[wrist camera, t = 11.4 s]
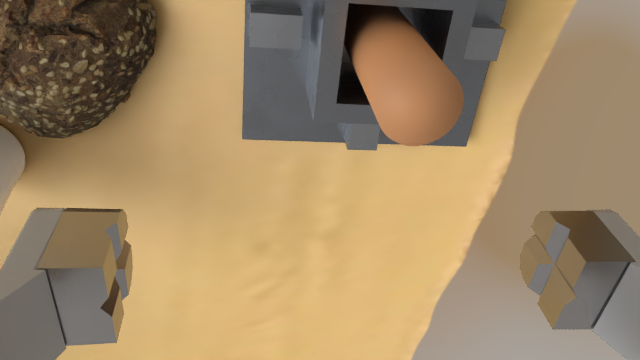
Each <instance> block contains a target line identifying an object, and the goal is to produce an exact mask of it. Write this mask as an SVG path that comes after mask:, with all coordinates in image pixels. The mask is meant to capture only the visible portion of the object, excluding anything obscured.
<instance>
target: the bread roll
mask: <svg viewBox="0 0 640 360" xmlns="http://www.w3.org/2000/svg"><path fill="white" fill-rule="evenodd" d="M156 23H157V16H156V11H155V10H154V9H153V7H152V6H151V5H150V4H149V2H148V1H147V0H0V114H3V115H5V116H7V121H8V122H11V123H17V124H19V125H21V126H23V127H25V130H26V131H28V132H29V133H32V132H34V133H35V134H36V135H37V136H42V137H51V138H65V137H69V136H72V135H74V134H77V133H82V132H83V131H85V130H87V129H90V128H92V127H94V126H97V125H98V124H99V123H100V122H101V121H102V120H103V119H105V118H107V117H108V116H109V114H110V113H112V112H114V111H115V108H116V106H117V105H118V104H119V103H120V102H124V103H125V102H126V101H127V100H128V98H129V97H130V91H131V88H132V85H133V84H134V83H135V82H136V81H137V77H139V76H140V75H141V71H143V70H144V68H145V66H146V65H147V62H148V60H149V59H150V58H151V57H152V55H153V53H154V45H155V41H156Z"/></svg>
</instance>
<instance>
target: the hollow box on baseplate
mask: <svg viewBox="0 0 640 360" xmlns="http://www.w3.org/2000/svg"><path fill="white" fill-rule="evenodd" d="M357 4H369V5H383V6H397V7H398V9H399V10H400V11H401V12H402V13H403V15H404V16H405V17H406V18H407V19H408V21H409V22H410V23H411V24H412V25H413V27H414V28H415V29H416V30H417V31H418V33H419V34H420V35H421V36H422V37H423V39H424V40H425V41H426V42H427V43H428V45H429V46H430V47H431V48H432V49H433V51H434V52H435V53H436V54H437V55H438V57H439V58H440V59H441V60H442V61H443V63H444V64H445V65H446V66H447V67H448V69H449V70H450V71H451V72H452V74H453V75H454V76H455V77H456V78H457V80H458V81H459V83H460V85H461V87H462V90H463V97H464V102H463V108H462V112H461V115H460V117H459V119H458V121H457V122H456V124H455V125H454V126H453V127H452V129H451V130H450V131H449V132H448V133H446V134H445V135H444V136H443V137H441V138H439V139H438V140H436V141H434V142H431V143H428V144H425V145H435V146H466V145H467V141H468V138H469V134H470V130H471V127H472V123H473V120H474V116H475V112H476V109H477V105H478V101H479V98H480V94H481V91H482V87H483V83H484V80H485V76H486V73H487V69H488V65H489V62H490V61H497V57H498V54H499V50H500V47H501V43H502V40H503V36H504V32H505V29H504V28H503V27H502V26H500V22H501V18H502V15H503V11H504V8H505V4H506V0H245V42H244V87H243V132H242V139H250V140H281V141H312V142H343V143H346V147H347V149H349V150H377V144H399V143H397V142H395V141H393V140H391V139H390V138H389V137H387V136H386V135H385V133H384V132H383V131H382V129H381V127H380V126H379V123H378V121H377V119H376V116H375V114H374V112H373V110H372V107H371V105H370V103H369V101H368V98H367V96H366V94H365V91H364V89H363V87H362V85H361V82H360V80H359V78H358V76H357V73H356V71H355V69H354V66H353V64H352V62H351V60H350V57H349V55H348V53H347V51H346V48H345V46H344V37H345V29H346V21H347V14H348V13H349V11H350V10H351V9H352V8H353V7H354V6H356V5H357Z"/></svg>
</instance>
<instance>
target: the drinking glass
mask: <svg viewBox="0 0 640 360" xmlns="http://www.w3.org/2000/svg"><path fill="white" fill-rule="evenodd" d="M24 168H25V154H24V150H23V148H22V146H21V144H20V142H19V141H18V140H17V138H16V137H15V136H14V135H13V134H12V133H11V132H10V131H8V130H7V129H6V128H4V127H3V126H1V125H0V214H1V212H2V210H3V208H4V206H5V204H6V202H7V200H8V198H9V196H10V194H11V192H12V190H13V188H14V186H15V184H16V183H17V181H18V180H19V178H20V177H21V175H22V173H23V171H24Z"/></svg>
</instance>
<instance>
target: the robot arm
mask: <svg viewBox="0 0 640 360" xmlns="http://www.w3.org/2000/svg"><path fill="white" fill-rule="evenodd" d="M531 227H532V230H533V232H534V234H535V235H534V236H532V237H531V238H530V239H529V240H527V241H526V242H525V243H524V246H523V248H522V251H521V254H520V270H521V273H522V277H523V279H524V281H525V283H526V284H527V286H528V287H529V288H530V289H531V290H533V291H535V292H536V293H537V294H539V295H540V297H539V301H538V305H539V307H540V309H541V310H542V312H543V313H544V315H545V317H546V319H547V321H548V322H549V324H550V326H551V327H552V329H593V330H592V332H594V333H595V334H596V335H597V336H599V337H600V338H601V339H602V340H603V341H605V342H606V343H607V344H608V345H610V346H611V347H612V348H613V349H615V350H616V351H617V352H618V353H619V354H621V355H622V356H623V357H624V358H626V359H627V360H640V237H639V236H638V235H637V234H636V233H635V232H634V231H633V229H632V228H631V227H630V226H629V225H628V224H627V223H626V222H625V221H624V220H623V219H622V218H621V216H620V215H619V214H618V213H616V212H614V211H612V210H586V211H540V212H539V213H538V214H537V215H536V216H535V219H534V221H533V223H532V226H531ZM127 230H128V223H127V217H126V213H125V211H124V210H123V209H87V208H66V209H65V208H37V209H35V210H33V211H32V212H31V213H30V215H29V217H28V219H27V221H26V223H25V225H24V227H23V228H22V230H21V232H20V234H19V236H18V238H17V240H16V242H15V243H14V245H13V247H12V249H11V251H10V253H9V255H8V257H7V258H6V260H5V262H4V264H3V266H2V268H1V270H0V360H55V359H56V358H57V357H58V356H59V355H60V354H61V353H62V352H63V351H64V350H65V349H66V346H69V345H86V344H104V343H117V340H118V336H119V332H120V328H121V324H122V319H123V315H124V310H123V304H122V300H123V299H124V298H125V297H126V296H128V295H129V290H130V286H131V279H132V268H133V266H132V250H131V245H130V244H129V243H128V242H127V241H126V240H125V237H126V233H127Z"/></svg>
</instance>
